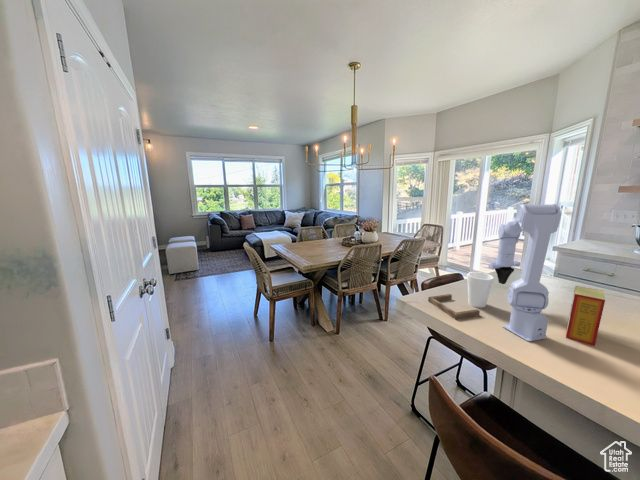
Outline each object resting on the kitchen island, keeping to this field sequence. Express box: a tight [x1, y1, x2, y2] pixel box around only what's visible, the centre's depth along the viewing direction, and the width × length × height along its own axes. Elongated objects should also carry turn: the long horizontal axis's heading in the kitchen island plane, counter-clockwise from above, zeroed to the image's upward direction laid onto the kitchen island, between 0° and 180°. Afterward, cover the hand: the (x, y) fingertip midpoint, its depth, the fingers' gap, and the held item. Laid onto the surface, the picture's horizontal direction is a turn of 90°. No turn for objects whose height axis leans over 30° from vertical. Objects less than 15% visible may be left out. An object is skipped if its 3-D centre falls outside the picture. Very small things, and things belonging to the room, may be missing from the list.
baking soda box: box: [565, 285, 606, 347], centre depth 83 cm, size 10×6×16 cm
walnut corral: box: [427, 293, 481, 320], centre depth 105 cm, size 16×11×2 cm
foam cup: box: [466, 271, 495, 308], centre depth 107 cm, size 10×9×13 cm
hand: (501, 283), depth 109 cm, fingers closed
